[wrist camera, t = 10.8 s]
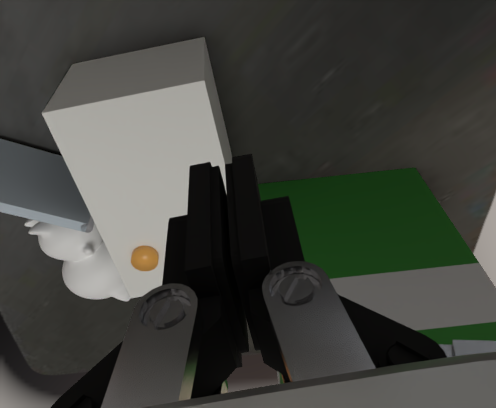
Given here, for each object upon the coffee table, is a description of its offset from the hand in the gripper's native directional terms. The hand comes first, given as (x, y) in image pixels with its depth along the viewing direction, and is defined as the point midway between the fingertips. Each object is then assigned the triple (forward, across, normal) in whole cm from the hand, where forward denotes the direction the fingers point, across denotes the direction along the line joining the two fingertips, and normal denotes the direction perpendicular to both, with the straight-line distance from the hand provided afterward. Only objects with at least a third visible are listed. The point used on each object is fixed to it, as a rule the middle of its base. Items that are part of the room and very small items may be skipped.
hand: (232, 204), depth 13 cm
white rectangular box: (+32, +8, +15) cm, 36 cm away
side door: (+31, +21, +11) cm, 39 cm away
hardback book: (+32, -8, +26) cm, 42 cm away
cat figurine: (+32, +18, +23) cm, 44 cm away
